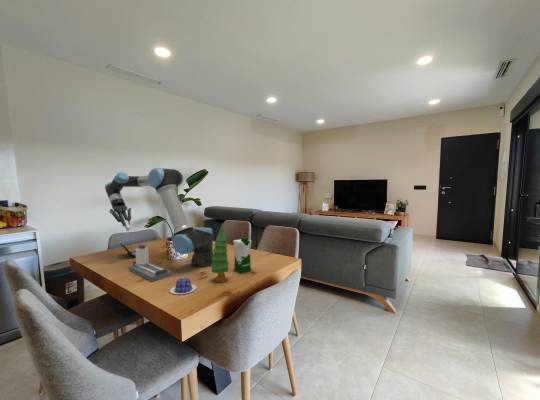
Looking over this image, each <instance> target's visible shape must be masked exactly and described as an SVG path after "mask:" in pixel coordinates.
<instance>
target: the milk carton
mask: <svg viewBox="0 0 540 400" xmlns="http://www.w3.org/2000/svg"><path fill="white" fill-rule="evenodd" d="M233 246H234V266H233V268H234V269H233V271H235V272H237V273H239V274H245V273H248V272H251V271H252V265H251V246H252V240H251V239H249V236H243V237H242V236H241V237H240V239H234V240H233Z"/></svg>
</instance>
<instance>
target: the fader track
mask: <svg viewBox="0 0 540 400" xmlns="http://www.w3.org/2000/svg"><path fill="white" fill-rule="evenodd" d="M132 263H133V264H132V265H129V266H128V271H130V272H132V273H134V274H136V275H138V276H139V277H141V278H144V279H146V280H147V281H150V282H151V283H154V282H158V281H159V280H163V279H166V278H170V277H172V276H173V271H171V270H169V269H168V268H164V267H162V266H159V265H157V264H154V263H152V262H150V261H149V262H148V263H147V265H146V266H141V265H137V264H136V260H135V261H133V262H132Z"/></svg>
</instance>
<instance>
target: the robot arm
mask: <svg viewBox="0 0 540 400" xmlns="http://www.w3.org/2000/svg"><path fill="white" fill-rule="evenodd" d="M183 181H184V177H183V174H182V173H181V172H180V171H179V170H178V169H175V168H162V167H155V168H152V169H151V170H150V171H149V172H148V174H147V175H137V176H133V175H132V176H131V175H128V173H126V172H125V173H124V172H123V171H121V172H120V171H119V172H117V174H115V176H114V177H113V180H112V181H110V182H108V183H106V184H105V185H104V189H105V193H106V194H107V197H108V199H109V202H110V205H111V208H110V210H109V213H110V214H111V215H112V216H113V218H114V219H115V220H116V221H117V222H118V223H120V224H122V226H123V227H124V228H125V231H127V232H128V231H130V230H131V226H130V225H131V222H130V221H131V219H132V214H131V213H132V212H131V210H132V207H128V206H127V205H126V202H125V201H124V199H123V195H122V193H121V191H122V190H123V189H124V188H128V187H129V188H132V187H133V188H134V187H135V188H141V187H142V188H144V187H151V188H153V189H155V192H156V193H157V194H159V195H160V197H161V199H162V202H163V205H164V207H165V210H166V212H167V214H168V217H169V220H170V222H171V225H172V227H173V230H174V232H173V234H172V235H173V238H172V240H171V241H172V242H171V245H172V248H173V249H174V251H175V252H177V254H180V255H186V254H190V253H192V257H191V260H190V265H191V266H192V267H196V268H207V267H211V265H212V262H213V260H212V257H213V255H214V252H213V250H214V248H213V243H214V241H213V239H214V237H213V236H214V235H213V234H214V233H213V228H210V227H200V226H199V227H193V226H191V225H190V224H189V222H188V219H187V216H186V214H185V211H184V208H183V206H182V204H181V201H180V199H179V197H178V194H177V192H176V188H177V187H179V186H180V185H182V183H183ZM126 211H127V212H126Z"/></svg>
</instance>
